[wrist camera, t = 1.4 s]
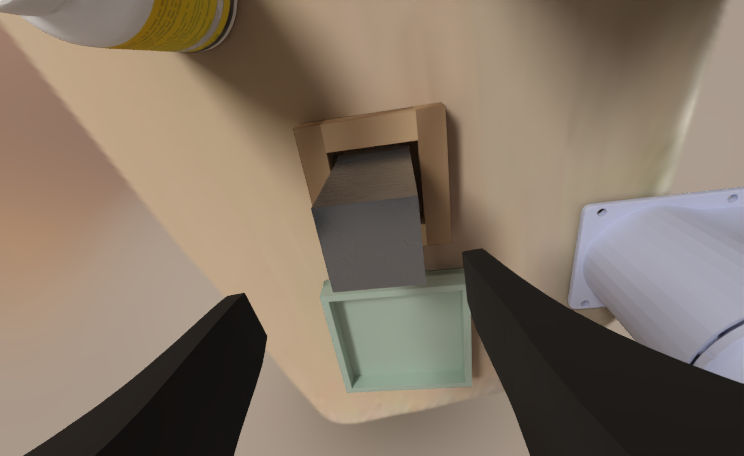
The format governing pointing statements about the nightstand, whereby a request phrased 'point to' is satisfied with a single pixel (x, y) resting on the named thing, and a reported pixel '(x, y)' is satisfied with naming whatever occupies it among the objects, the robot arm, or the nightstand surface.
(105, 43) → the supplement bottle
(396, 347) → the sage tray
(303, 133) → the oak holder
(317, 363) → the nightstand surface
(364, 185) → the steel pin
